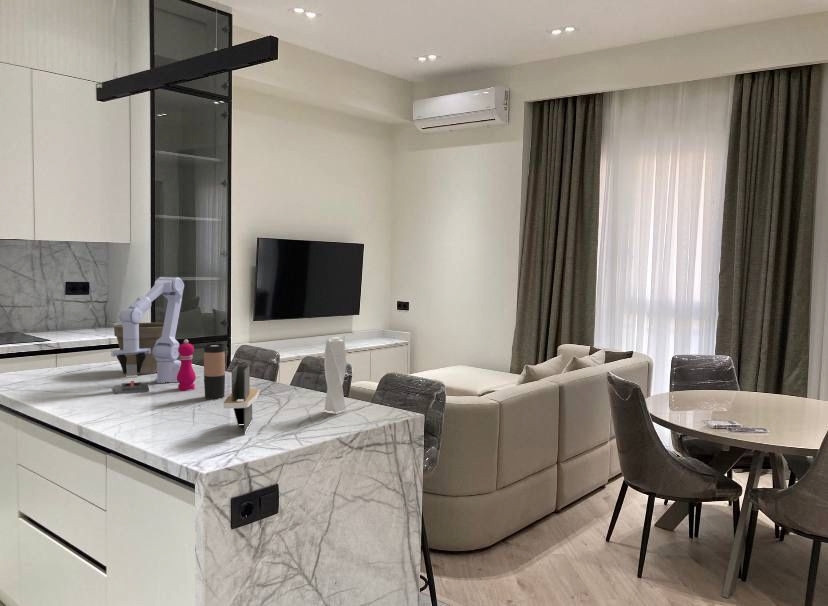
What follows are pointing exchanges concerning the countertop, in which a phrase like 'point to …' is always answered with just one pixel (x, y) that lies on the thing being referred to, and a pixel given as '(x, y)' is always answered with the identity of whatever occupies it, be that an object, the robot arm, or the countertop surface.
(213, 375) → the travel mug
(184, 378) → the pepper mill
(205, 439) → the countertop surface
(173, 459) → the countertop surface
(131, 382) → the stand base
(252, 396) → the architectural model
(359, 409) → the countertop surface
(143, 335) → the plant pot
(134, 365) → the brushed metal block
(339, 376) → the skyscraper
